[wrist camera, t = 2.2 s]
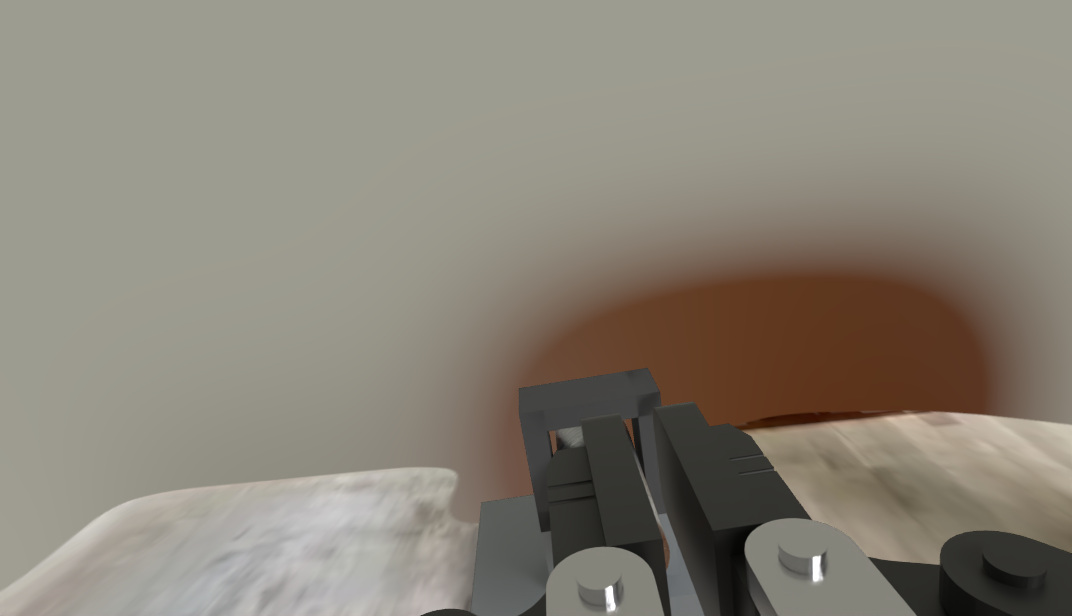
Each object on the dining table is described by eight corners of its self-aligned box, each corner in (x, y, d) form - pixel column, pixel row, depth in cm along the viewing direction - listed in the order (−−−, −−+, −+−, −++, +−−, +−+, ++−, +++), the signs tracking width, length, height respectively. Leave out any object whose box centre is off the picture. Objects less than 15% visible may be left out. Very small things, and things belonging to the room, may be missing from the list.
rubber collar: (660, 480, 35) (647, 368, 33) (673, 512, 32) (659, 391, 30) (539, 498, 35) (518, 388, 33) (541, 532, 32) (518, 413, 30)
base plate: (711, 485, 43) (705, 415, 41) (774, 605, 32) (769, 517, 31) (485, 520, 43) (470, 452, 41) (474, 650, 33) (454, 565, 31)
